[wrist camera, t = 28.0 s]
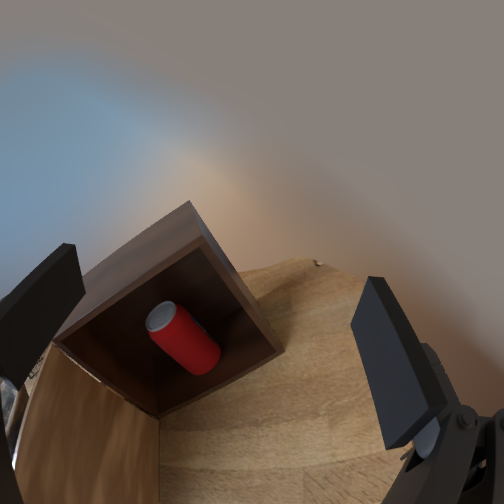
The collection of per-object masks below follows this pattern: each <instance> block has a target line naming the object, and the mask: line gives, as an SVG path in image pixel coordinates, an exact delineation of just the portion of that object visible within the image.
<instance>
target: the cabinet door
mask: <svg viewBox="0 0 504 504" xmlns="http://www.w3.org/2000/svg"><path fill="white" fill-rule="evenodd" d="M12 465H13V469H14V473H15V476H16V480H17V483H18V486H19V490H20V493H21V496H22V499H23V501H24V504H159V421H158V420H156V419H154V418H153V417H151V416H149V415H148V414H146V413H144V412H143V411H141V410H139V409H138V408H136V407H135V406H133V405H132V404H130V403H128V402H127V401H125V400H124V399H122V398H121V397H119V396H118V395H116V394H115V393H114V392H112V391H111V390H109V389H108V388H106V387H105V386H104V385H102V384H101V383H99V382H98V381H97V380H95V379H94V378H93V377H91V376H90V375H89V374H88V373H86V372H85V371H84V370H82V369H81V368H80V367H79V366H77V365H76V364H75V363H74V362H73V361H71V360H70V359H69V358H68V357H67V356H65V355H64V354H63V353H62V352H61V351H60V350H58V349H57V348H56V347H55V346H54V345H53V344H51V345H50V346H49V347H48V349H47V351H46V354H45V356H44V359H43V361H42V364H41V366H40V369H39V372H38V374H37V377H36V380H35V383H34V385H33V388H32V391H31V394H30V397H29V400H28V403H27V407H26V410H25V413H24V417H23V420H22V424H21V428H20V431H19V435H18V439H17V444H16V448H15V453H14V457H13V462H12Z"/></svg>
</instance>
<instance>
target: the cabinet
mask: <svg viewBox="0 0 504 504" xmlns="http://www.w3.org/2000/svg"><path fill="white" fill-rule="evenodd" d="M82 279H83V283H84V287H85V291H86V294H85V295H84V297H83V298H82V299H81V301H80V302H79V303H78V304H77V306H76V307H75V308H74V310H73V311H72V312H71V314H70V315H69V316H68V318H67V319H66V321H65V322H64V323H63V325H62V326H61V327H60V329H59V330H58V332H57V333H56V335H55V336H54V337H53V339H52V341H53V342H54V343H55V344H57V346H58V347H59V348H61V349H62V350H63V351H64V352H65V353H66V354H67V355H69V356H70V357H71V358H72V359H73V360H75V361H76V362H77V363H78V364H79V365H81V366H82V367H83V368H84V369H86V370H87V371H88V372H90V373H91V374H92V375H93V376H95V377H96V378H97V379H99V380H100V381H101V382H103V383H104V384H106V385H107V386H108V387H110V388H111V389H113V390H114V391H115V392H117V393H118V394H120V395H121V396H123V397H124V398H126V399H127V400H129V401H130V402H132V403H133V404H135V405H136V406H138V407H140V408H141V409H143V410H144V411H146V412H148V413H149V414H151V415H153V416H154V417H156V418H160V417H162V416H164V415H166V414H169V413H171V412H173V411H175V410H177V409H180V408H182V407H184V406H186V405H188V404H190V403H192V402H194V401H196V400H198V399H200V398H202V397H204V396H206V395H208V394H210V393H212V392H214V391H216V390H218V389H220V388H222V387H224V386H226V385H228V384H230V383H231V382H233V381H235V380H237V379H239V378H241V377H242V376H244V375H246V374H248V373H250V372H251V371H253V370H255V369H257V368H258V367H260V366H262V365H264V364H265V363H267V362H269V361H270V360H272V359H274V358H275V357H277V356H279V355H280V354H282V353H284V352H285V350H284V349H283V347H282V345H281V343H280V342H279V340H278V338H277V336H276V335H275V333H274V331H273V329H272V327H271V326H270V324H269V322H268V320H267V319H266V317H265V315H264V313H263V311H262V310H261V308H260V306H259V304H258V303H257V301H256V299H255V298H254V296H253V295H252V293H251V292H250V290H249V289H248V287H247V286H246V284H245V283H244V282H243V280H242V279H241V277H240V276H239V274H238V273H237V271H236V270H235V268H234V267H233V265H232V264H231V263H230V261H229V259H228V258H227V256H226V255H225V253H224V252H223V250H222V249H221V247H220V246H219V245H218V243H217V241H216V240H215V238H214V237H213V235H212V234H211V232H210V231H209V229H208V228H207V226H206V225H205V223H204V222H203V220H202V219H201V217H200V216H199V214H198V213H197V211H196V209H195V208H194V206H193V205H192V203H191V202H190V201H187V202H186V203H184V204H183V205H181V206H180V207H178V208H177V209H175V210H174V211H172V212H171V213H169V214H168V215H166V216H165V217H163V218H162V219H160V220H159V221H157V222H156V223H154V224H153V225H151V226H150V227H149V228H147V229H146V230H144V231H143V232H141V233H140V234H139V235H137V236H136V237H135V238H133V239H132V240H130V241H129V242H128V243H126V244H125V245H123V246H122V247H121V248H119V249H118V250H116V251H115V252H114V253H112V254H111V255H110V256H109V257H107V258H106V259H105V260H103V261H102V262H100V263H99V264H98V265H97V266H95V267H94V268H93V269H91V270H90V271H89V272H88V273H86V274H85V275H84V276H82ZM165 301H172V302H173V303H175V304H178V305H181V306H183V307H184V308H185V309H186V310H187V311H188V312H189V313H190V315H191V316H192V317H193V318H194V319H195V320H196V321H197V322H198V323H199V324H200V325H201V326H202V327H203V329H204V330H205V331H206V332H207V333H208V334H209V335H210V336H211V337H212V338H213V339H214V340H215V342H216V343H217V344H218V345H219V347H220V350H221V354H220V358H219V361H218V362H217V364H216V365H215V366H214V367H213V368H212V369H211V370H210V371H209V372H207V373H205V374H202V375H194V374H191V373H190V372H189V371H187V370H186V369H185V368H184V367H183V366H181V365H180V364H179V363H178V362H177V361H175V360H174V359H173V358H172V357H171V356H170V355H168V354H167V353H166V352H165V351H164V350H163V349H162V348H161V347H160V346H158V345H157V344H156V343H155V342H154V341H153V340H152V339H151V338H150V335H149V332H148V329H147V327H146V319H147V317H148V315H149V314H150V312H151V311H152V310H153V309H154V308H155V307H156V306H157V305H159V304H161V303H163V302H165Z"/></svg>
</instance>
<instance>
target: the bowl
mask: <svg viewBox="0 0 504 504" xmlns="http://www.w3.org/2000/svg"><path fill="white" fill-rule="evenodd" d="M0 388H1V400H2V410H3V418H4V425H5V431H6V437H7V442H8V447H9V452H10V457H11V461H12V462H13V457H14V453H15V448H16V444H17V439H18V435H19V431H20V428H21V424H22V420H23V417H24V413H25V410H26V407H27V403H28V400H29V395H28V393H27V390H26V387H25V384H23V386H22V387H21V389H20V391H19V392H18V391H16V390H14V389H12V388H11V387H9V386H7V385H6V384H5V382H3V383H2V384H1V385H0Z"/></svg>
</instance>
